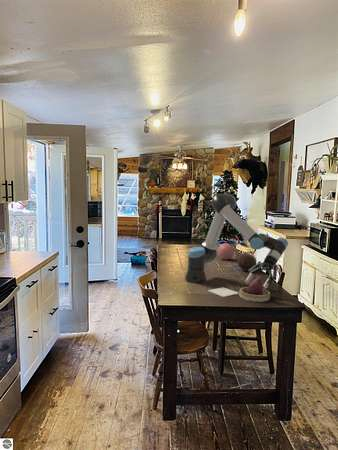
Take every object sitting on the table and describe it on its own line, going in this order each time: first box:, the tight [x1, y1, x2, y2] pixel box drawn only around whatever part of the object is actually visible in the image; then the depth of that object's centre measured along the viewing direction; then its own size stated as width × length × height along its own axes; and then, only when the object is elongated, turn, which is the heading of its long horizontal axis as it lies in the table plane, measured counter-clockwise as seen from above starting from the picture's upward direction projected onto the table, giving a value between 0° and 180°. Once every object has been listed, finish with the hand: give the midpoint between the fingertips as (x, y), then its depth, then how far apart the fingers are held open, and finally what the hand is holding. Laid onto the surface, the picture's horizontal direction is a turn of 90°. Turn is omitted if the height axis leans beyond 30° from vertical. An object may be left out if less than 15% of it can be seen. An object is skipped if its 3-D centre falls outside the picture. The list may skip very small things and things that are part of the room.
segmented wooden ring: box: [238, 286, 271, 303], centre depth 209 cm, size 18×18×4 cm
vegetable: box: [246, 276, 263, 295], centre depth 208 cm, size 10×10×15 cm
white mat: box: [207, 286, 239, 298], centre depth 216 cm, size 14×14×1 cm
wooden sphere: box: [237, 252, 257, 272], centre depth 277 cm, size 15×15×15 cm
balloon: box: [217, 242, 239, 261], centre depth 319 cm, size 15×20×15 cm
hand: (255, 284), depth 208 cm, fingers open, 13 cm apart
